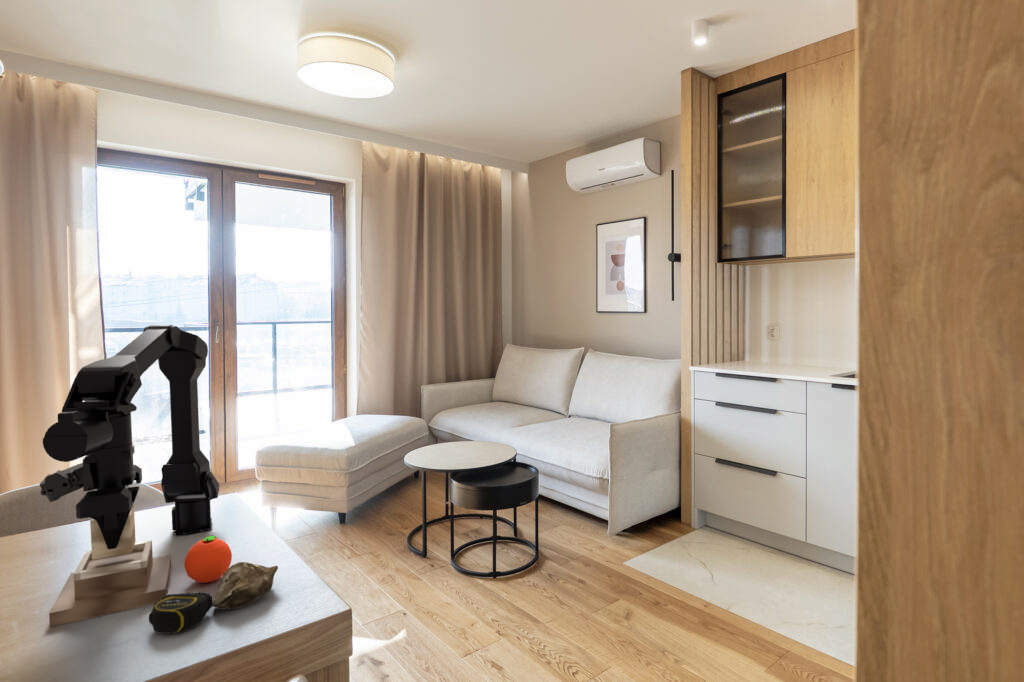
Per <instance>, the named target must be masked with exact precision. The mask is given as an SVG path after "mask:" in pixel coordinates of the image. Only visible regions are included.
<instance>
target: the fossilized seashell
mask: <svg viewBox="0 0 1024 682" xmlns="http://www.w3.org/2000/svg"><path fill="white" fill-rule="evenodd" d="M278 569H279V566H278V565H274V566H265V565H261V564H257V563H252V562H249V561H248V562H247V561H245V562H244V561H243V562H242V561H240V562H237V563H234V564H232V565H230V566H229V568H228V569H227V571H226V572H225V573H224V574H223V575H222V576H221V577H220V578H219V579H218V582H217V585H216V590H215V594H214V599H213V603H212V607H213V608H215V609H222V610H237V609H240V608H244V607H246V606H249V605H251V604H252V603H254V602H256V600H258V599H259V598H261V597H262V596H263V597H264V596H265V595H267V594H268V593H269V592H270V591H271V589H272V587H273V584H274V578H275V575H276V573H277V571H278Z"/></svg>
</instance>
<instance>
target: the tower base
mask: <svg viewBox="0 0 1024 682" xmlns="http://www.w3.org/2000/svg"><path fill="white" fill-rule="evenodd" d="M153 555H154V553H153V540H152V539H151V540H146V541H141V542H135V545H134V548H133V551H132V553H128V554H122V555H116V556H111V557H105V558H100V559H94V560H92V550H88V551H85V553H84V554H83V555H82V558H81V560H80V562H79V563H78V565H77V566H76V569H75V571H74V572H70V574H69V576H68V578H67V580H66V581H65V583H64V585H63V587H62V589H61V591H60V593H59V595H58V596H57V598H56V600H55V602H54V603H53V605H52V607H51V608H50V611H49V613H48V615H49V617H48V618H49V619H48V621H49V628H51V627H56V626H62V625H66V624H70V623H74V622H79V621H83V620H89V619H93V618H97V617H102V616H106V615H111V614H116V613H121V612H124V611H130V610H134V609H137V608H139V609H140V608H143V607H144V608H145V607H148V606H151V605H153V606H154V605H155V604H156V603H157V602H159V601H160V600H162V598H163V597H164V596H165V595H168V591H169V586H170V585H169V584H170V578H171V574H172V573H171V572H172V554H166V555H162V556H156V557H154V556H153Z"/></svg>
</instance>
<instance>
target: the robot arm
mask: <svg viewBox="0 0 1024 682" xmlns="http://www.w3.org/2000/svg"><path fill="white" fill-rule="evenodd" d="M208 348H209V347H208V345H207V342H205V341H204V339H202V338H201V337H200V336H198V335H197V334H193V333H190V332H188V331H185V330H182V329H181V328H179V327H178V326H176V325H173V324H150V325H147V326H145V327H144V329H143V331H142V332H141V333H140V334H139V335H138V336H137V337H135V339H133V340H132V341H131V342H129V343H128V344H127V345H126V346H125V347H123V348H122V349H121V350H120V351H119V352H117V353H116V354H115V355H113V356H111V357H107V358H103V359H99V360H95V361H93V362H91V363H89V364H86V365H85V366H84V365H83V367H81V369H80V370H78V371H77V374H76V376H75V377H74V380H73V381H72V385H71V386H70V389H69V392H68V395H67V396H66V399H65V401H64V404H63V406H62V409H61V412H59V413H57V422H56V423H55V422H54V423H53V424H52V425H50V427H48V428H47V430H46V431H45V433H44V435H43V437H42V446H43V449H44V451H45V452H46V454H47V455H48V456H49V457H50V458H51V459H53V460H56V461H58V462H63V463H68V462H73V461H75V460H78V459H81V458H82V462H81V463H78V464H75V465H73V466H70V467H67V468H65V469H62V470H60V469H58V470H57V471H55V472H53V473H52V474H50V473H49V474H47V475H46V476H45V477H44V478H43V479H42V481H41V482H39V486H40V489H41V490H40V495H41V496H45V497H46V498H47V500H48V502H49V503H52V502H53V503H54V502H55V501H57V500H60V498H61V497H64V496H66V495H69V494H71V493H73V492H76V491H78V490H80V489H82V490H83V492H85V494H84V495H83V496H82V497H80V499H79V500H78V502H77V503H76V505H75V515H76V517H75V518H76V519H78V520H79V519H82V520H83V519H87V518H88V519H89V518H90V519H94V520H96V521H97V523H98V525H99V528H100V530H101V533H102V535H103V538H104V540H105V543H106V546H107V548H108V549H115V548H117V545H118V543H119V540H120V537H121V535H122V532H123V529H124V527H125V524H126V521H127V519H128V516H129V513H130V511H131V508H132V506H133V505H134V504H135V501H136V498H137V495H138V493H139V491H140V486H136V485H135V486H131V485H133V483H134V481H135V484H141V483H142V480H143V469H142V468H141V467H140V466H138V465H137V464H134V454H135V452H136V451H135V445H133V433H132V431H133V430H132V429H133V428H132V413H133V412H136V411H137V409H138V407H137V406H136V405H135V404H134V403H133V402H132V400H133V399H134V397H135V395H136V394H137V393H138V391H139V390H140V388H141V387H142V385H143V382H142V380H141V379H142V378H141V376H142V375H143V374H144V373H145V372H146V371H147V370H149V368H150V367H151V366H152V365H153V364H154V363H156V362H157V361H158V368H159V370H160V372H161V373H162V374H163V375H164V377H165V378H166V379H167V381H168V382H169V401H170V402H169V403H170V404H169V405H170V407H169V408H170V426H171V427H170V428H171V450H172V452H171V456H170V457H169V458H168V460H167V462H166V463H165V464H163V465H162V466H161V475H162V476H161V483H160V486H161V490H162V494H163V498H164V501H165V503H166V504H170V503H174V506H173V507H172V508H171V528H172V531H174V536H182V535H188V534H194V533H199V532H206V531H210V530H212V529H213V522H212V514H211V513H212V511H211V501H212V500H214V499H218V498H219V493H220V492H219V491H220V482H218V480H217V478H216V476H215V475H214V474H213V473H212V471H211V465H210V461H209V459H208V458H207V456H206V455H205V454H204V452H203V451H202V450H201V448H200V447H201V446H200V445H201V443H200V442H201V441H200V419H199V418H200V417H199V393H198V392H199V391H198V379H199V377H200V375H201V374H202V373H203V371H204V369H205V368H206V366H207V364H206V363H207V357H208V353H209V350H208ZM130 486H131V487H130Z"/></svg>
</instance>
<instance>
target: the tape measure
mask: <svg viewBox="0 0 1024 682" xmlns="http://www.w3.org/2000/svg"><path fill="white" fill-rule="evenodd" d="M213 602H214V599H213V595H212V594H211V593H209V592H184V593H170V594H168V593H167V595H165V596H164V597H163V598H162V600H160V601H159V602H157V603H156V604H153V607H152V610H151V611H150V612H149V615H148V622H149V624H150V625H151V626H152V629H153V632H156V633H158V634H174V633H179V632H184V631H187V630H190V629H192V628H194V627H195V626H196V627H197V625H199V624H201V622H202V621H203V620H204V619H205V618H206V615H207V614H208V612H210V610H211V608H212V607H213V606H212V604H213Z"/></svg>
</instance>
